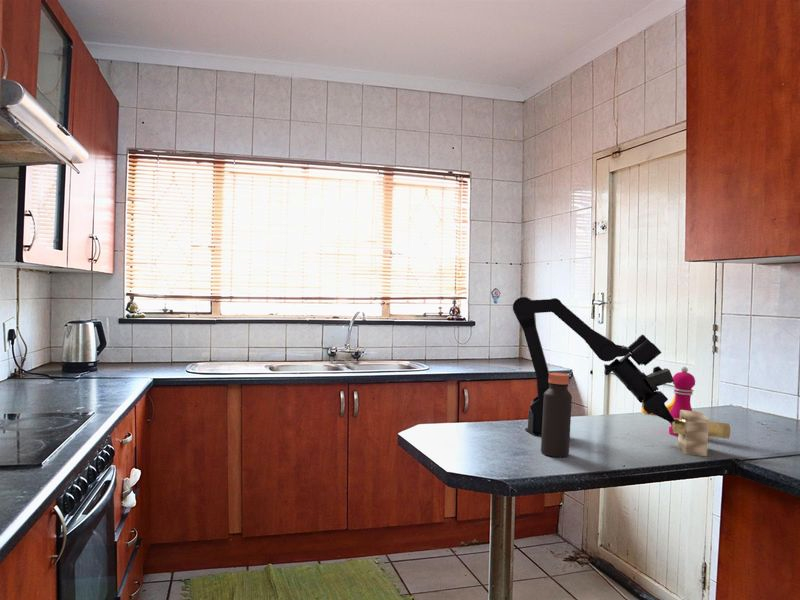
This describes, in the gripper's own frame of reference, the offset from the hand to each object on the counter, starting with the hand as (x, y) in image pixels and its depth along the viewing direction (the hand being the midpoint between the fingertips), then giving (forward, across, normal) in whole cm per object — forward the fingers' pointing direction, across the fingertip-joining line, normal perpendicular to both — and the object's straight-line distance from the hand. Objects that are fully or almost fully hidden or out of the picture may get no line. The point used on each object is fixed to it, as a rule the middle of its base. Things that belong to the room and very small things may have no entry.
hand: (673, 421), depth 154 cm
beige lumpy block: (+8, 0, +2) cm, 9 cm away
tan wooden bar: (+7, 0, -3) cm, 7 cm away
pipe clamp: (+8, +45, +2) cm, 46 cm away
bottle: (-16, -20, +26) cm, 37 cm away
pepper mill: (+9, +17, +1) cm, 19 cm away
